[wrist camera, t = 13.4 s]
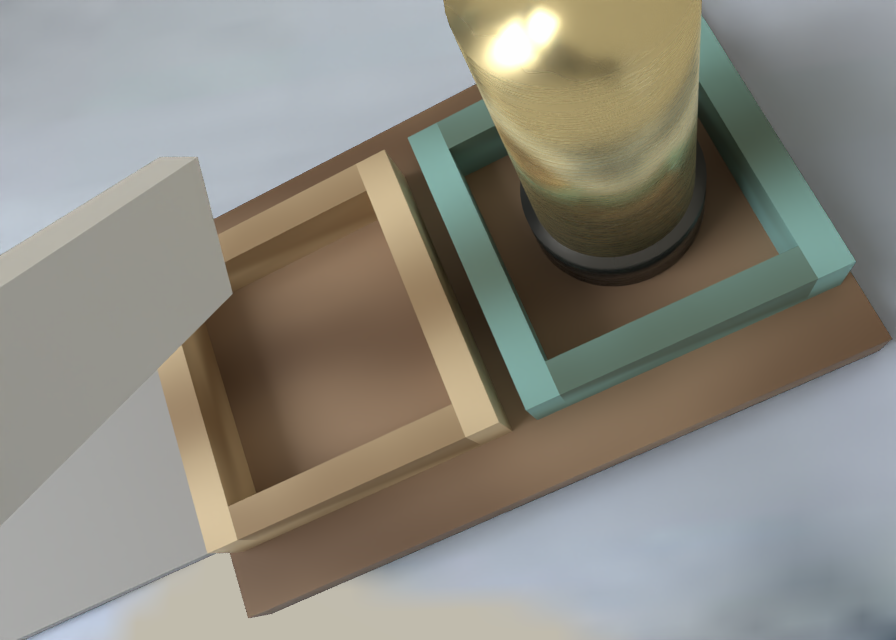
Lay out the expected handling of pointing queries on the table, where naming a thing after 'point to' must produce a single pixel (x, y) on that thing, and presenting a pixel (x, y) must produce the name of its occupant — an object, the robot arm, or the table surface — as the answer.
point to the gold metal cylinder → (595, 125)
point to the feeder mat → (100, 521)
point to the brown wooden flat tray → (480, 341)
